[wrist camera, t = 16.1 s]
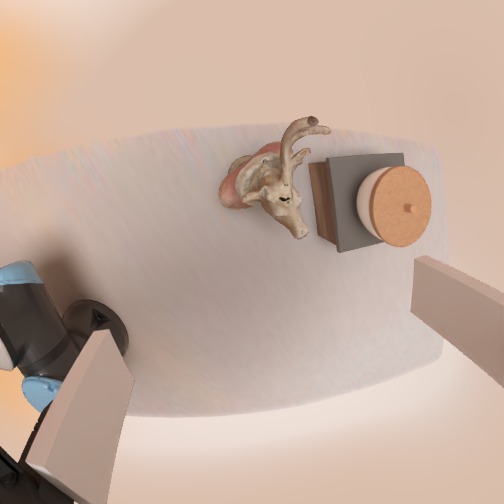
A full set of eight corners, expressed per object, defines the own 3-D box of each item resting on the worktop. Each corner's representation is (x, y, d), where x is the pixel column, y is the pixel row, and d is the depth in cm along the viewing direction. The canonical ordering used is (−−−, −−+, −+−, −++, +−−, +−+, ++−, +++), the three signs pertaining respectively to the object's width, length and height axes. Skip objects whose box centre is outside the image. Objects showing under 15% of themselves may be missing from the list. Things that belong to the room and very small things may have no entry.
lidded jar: (338, 170, 36) (375, 171, 27) (395, 162, 37) (435, 162, 28) (349, 241, 39) (384, 260, 30) (402, 226, 40) (440, 240, 31)
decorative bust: (282, 234, 46) (335, 255, 22) (214, 203, 45) (190, 188, 20) (308, 177, 45) (380, 143, 21) (241, 146, 44) (249, 75, 19)
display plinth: (315, 237, 49) (339, 252, 39) (305, 161, 45) (328, 158, 35) (378, 224, 50) (409, 235, 40) (371, 154, 46) (403, 152, 36)
